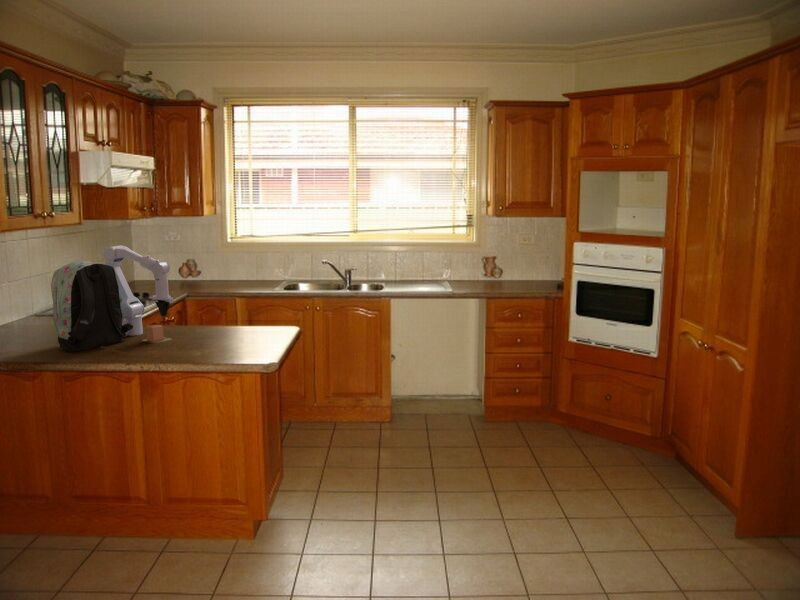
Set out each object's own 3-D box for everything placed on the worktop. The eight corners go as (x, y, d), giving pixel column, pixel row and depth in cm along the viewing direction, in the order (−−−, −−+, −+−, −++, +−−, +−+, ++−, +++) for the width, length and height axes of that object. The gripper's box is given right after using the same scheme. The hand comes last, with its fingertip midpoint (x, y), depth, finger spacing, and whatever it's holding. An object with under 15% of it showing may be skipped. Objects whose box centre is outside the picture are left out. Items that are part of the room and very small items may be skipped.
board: (141, 341, 306) (141, 340, 306) (160, 337, 314) (160, 336, 314) (154, 345, 300) (153, 343, 300) (173, 340, 308) (172, 339, 308)
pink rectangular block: (147, 340, 306) (146, 326, 304) (157, 338, 310) (156, 324, 308) (153, 341, 302) (152, 327, 301) (163, 339, 307) (162, 325, 305)
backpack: (102, 335, 320) (95, 256, 314) (137, 340, 309) (131, 258, 302) (40, 350, 292) (30, 263, 285) (76, 356, 281) (67, 266, 274)
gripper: (178, 287, 309) (180, 316, 312) (160, 285, 318) (162, 312, 320) (165, 289, 304) (167, 318, 306) (147, 287, 312) (149, 315, 315)
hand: (163, 316), depth 313 cm, fingers closed
